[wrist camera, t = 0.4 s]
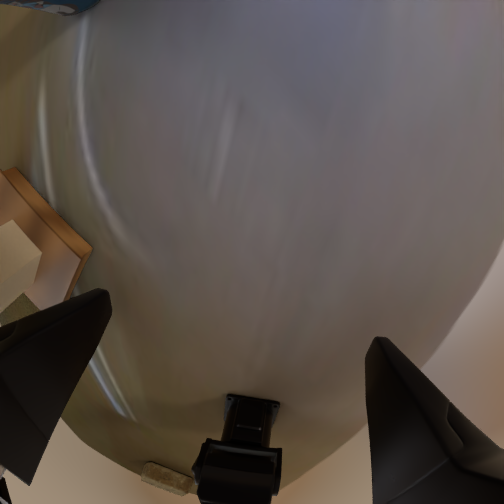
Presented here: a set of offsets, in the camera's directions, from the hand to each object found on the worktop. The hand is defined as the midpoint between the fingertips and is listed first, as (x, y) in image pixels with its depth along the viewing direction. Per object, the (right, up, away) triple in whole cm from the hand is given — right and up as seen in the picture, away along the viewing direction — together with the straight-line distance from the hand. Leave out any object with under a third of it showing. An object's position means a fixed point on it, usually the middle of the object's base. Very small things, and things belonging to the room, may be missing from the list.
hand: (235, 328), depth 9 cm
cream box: (-24, +2, +15) cm, 29 cm away
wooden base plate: (-24, +3, +18) cm, 30 cm away
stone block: (-19, -48, +42) cm, 67 cm away
